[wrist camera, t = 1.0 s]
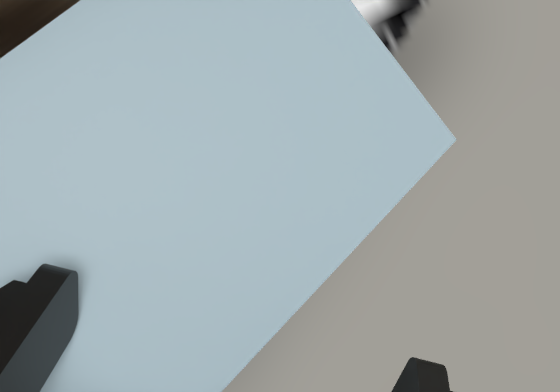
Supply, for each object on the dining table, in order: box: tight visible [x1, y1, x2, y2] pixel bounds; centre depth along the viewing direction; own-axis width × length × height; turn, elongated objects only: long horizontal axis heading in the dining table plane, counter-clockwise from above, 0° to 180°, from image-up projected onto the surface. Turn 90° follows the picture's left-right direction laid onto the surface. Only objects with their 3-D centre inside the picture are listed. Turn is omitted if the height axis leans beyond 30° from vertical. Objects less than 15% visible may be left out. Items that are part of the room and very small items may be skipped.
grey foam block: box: [0, 0, 456, 392], centre depth 24 cm, size 16×10×21 cm, turn 133°
